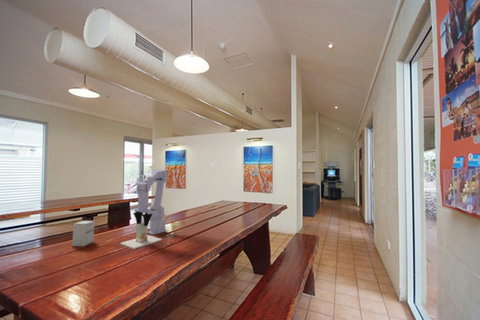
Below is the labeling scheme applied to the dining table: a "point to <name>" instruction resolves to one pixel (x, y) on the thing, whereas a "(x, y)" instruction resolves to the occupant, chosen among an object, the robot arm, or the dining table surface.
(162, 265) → the dining table surface
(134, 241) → the white flat slab
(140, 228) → the sage block
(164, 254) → the dining table surface
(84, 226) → the supplement box
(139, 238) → the maple block
